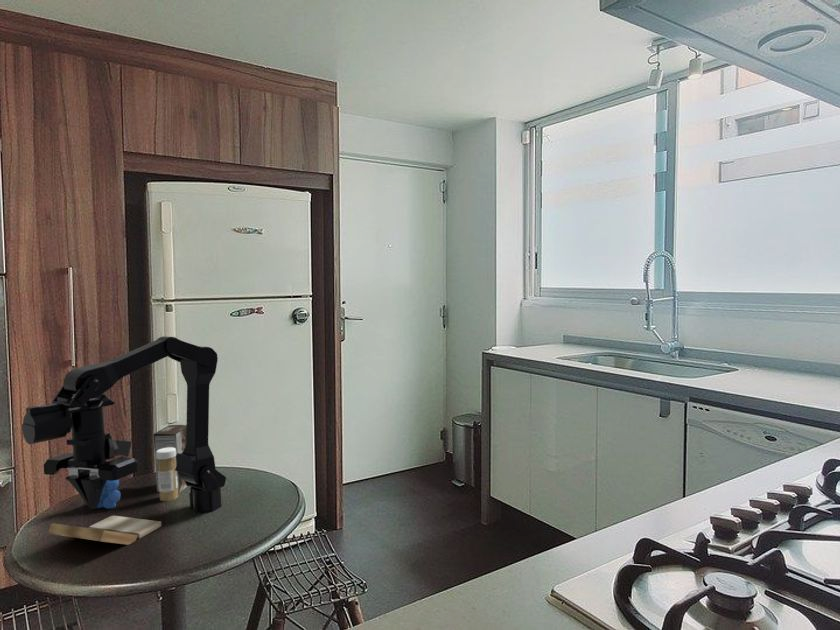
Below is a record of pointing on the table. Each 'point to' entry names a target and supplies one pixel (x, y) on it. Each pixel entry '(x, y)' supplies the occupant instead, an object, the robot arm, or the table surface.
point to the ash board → (127, 525)
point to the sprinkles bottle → (167, 474)
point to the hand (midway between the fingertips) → (93, 508)
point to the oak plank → (91, 534)
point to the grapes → (109, 494)
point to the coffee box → (171, 438)
